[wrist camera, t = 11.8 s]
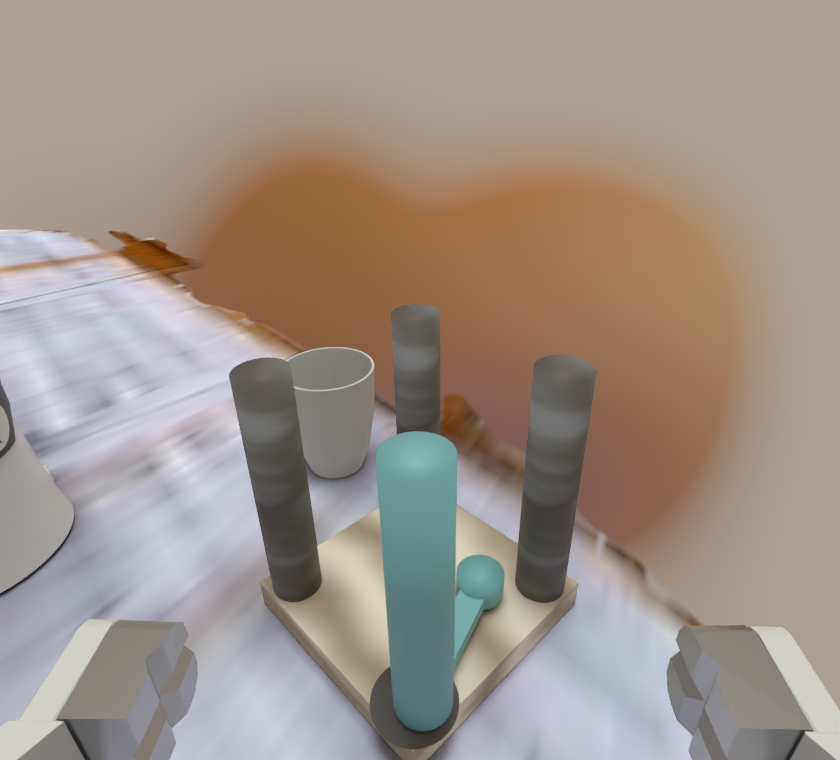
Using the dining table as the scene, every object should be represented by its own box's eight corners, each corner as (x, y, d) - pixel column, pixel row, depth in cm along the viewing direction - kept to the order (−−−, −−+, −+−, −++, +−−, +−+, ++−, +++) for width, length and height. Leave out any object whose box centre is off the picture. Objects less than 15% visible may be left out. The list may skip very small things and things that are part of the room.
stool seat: (413, 792, 28) (400, 521, 19) (256, 607, 38) (202, 375, 29) (582, 608, 37) (624, 371, 29) (421, 499, 47) (416, 299, 39)
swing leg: (465, 565, 37) (471, 351, 30) (511, 582, 36) (529, 362, 29) (381, 713, 29) (359, 465, 21) (437, 742, 28) (435, 489, 20)
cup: (366, 430, 57) (359, 341, 52) (392, 476, 50) (386, 379, 45) (286, 448, 54) (271, 356, 50) (302, 499, 48) (286, 399, 43)
